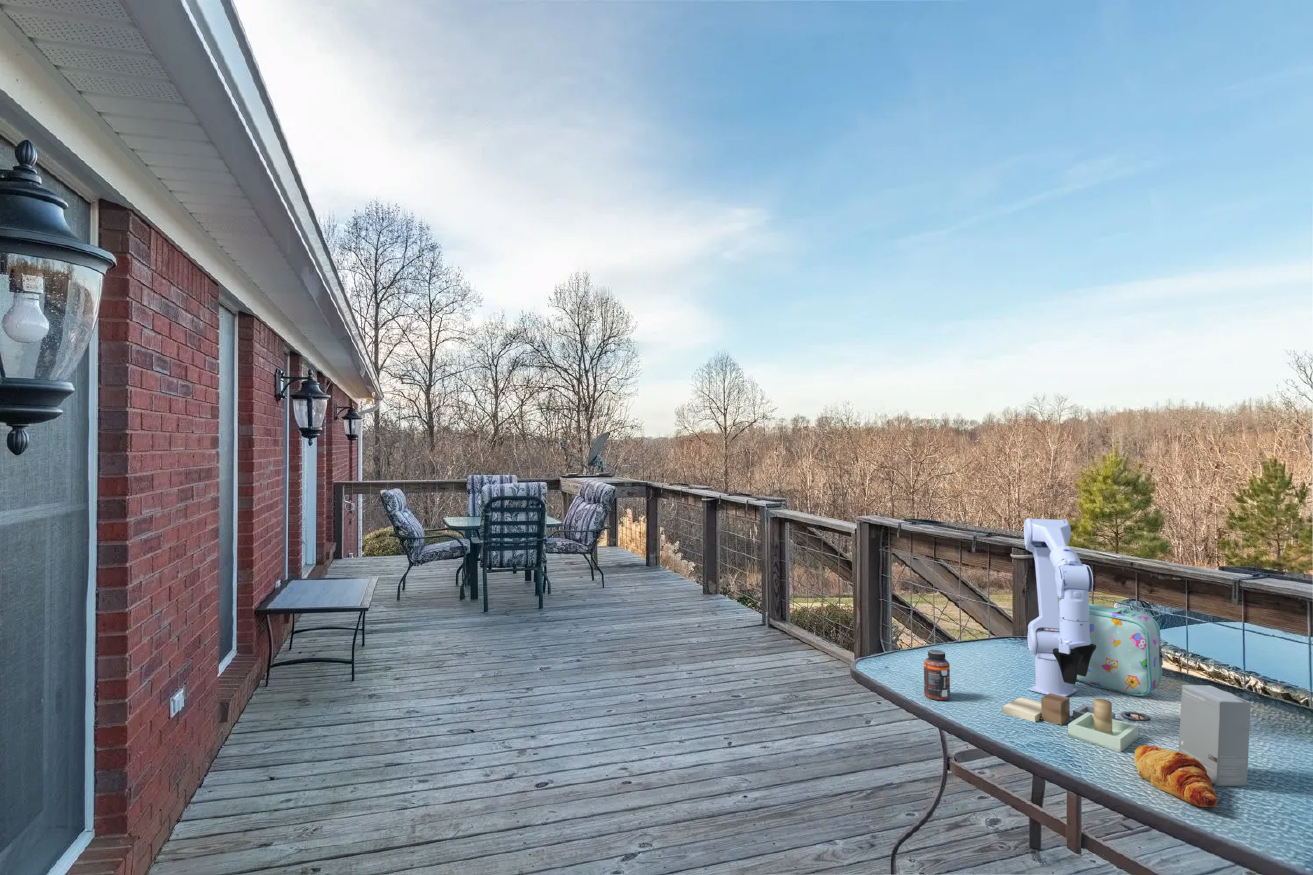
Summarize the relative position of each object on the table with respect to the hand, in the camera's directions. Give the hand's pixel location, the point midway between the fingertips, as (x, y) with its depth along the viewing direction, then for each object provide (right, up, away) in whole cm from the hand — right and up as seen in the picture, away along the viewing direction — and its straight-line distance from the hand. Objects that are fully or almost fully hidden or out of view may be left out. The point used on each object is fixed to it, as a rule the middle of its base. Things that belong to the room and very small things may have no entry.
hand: (1075, 679), depth 146 cm
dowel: (+1, -9, -7) cm, 12 cm away
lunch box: (+24, -11, +25) cm, 37 cm away
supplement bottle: (-24, -11, +16) cm, 31 cm away
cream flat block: (-7, -11, +6) cm, 14 cm away
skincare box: (+10, -9, -24) cm, 28 cm away
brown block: (-3, -10, +2) cm, 11 cm away
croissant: (0, -10, -27) cm, 29 cm away
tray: (+1, -10, -7) cm, 12 cm away
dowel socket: (+6, -10, +3) cm, 12 cm away
